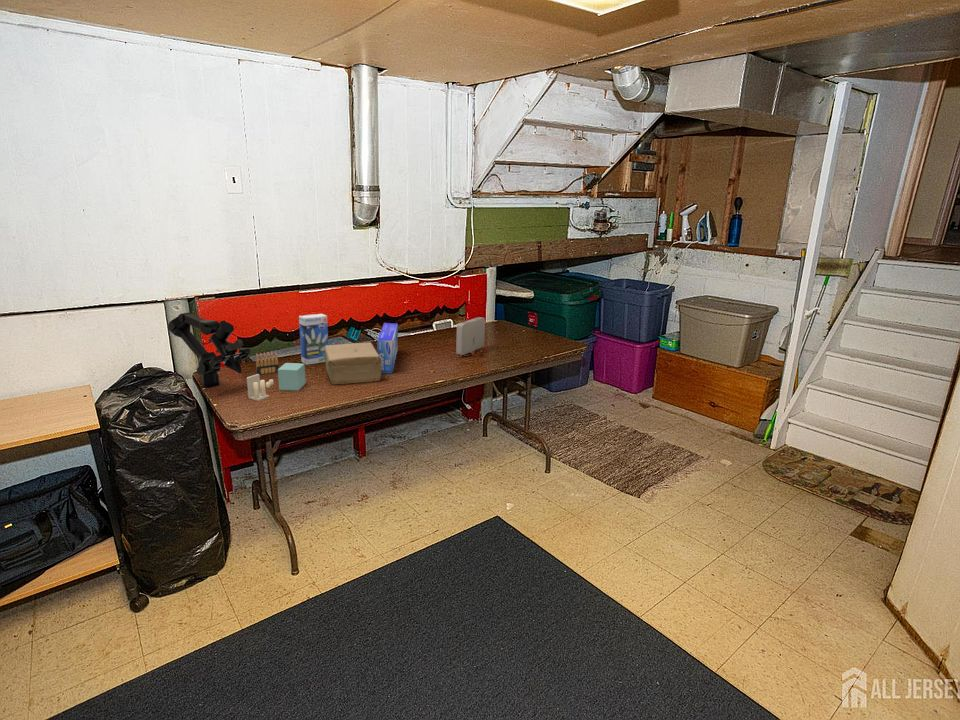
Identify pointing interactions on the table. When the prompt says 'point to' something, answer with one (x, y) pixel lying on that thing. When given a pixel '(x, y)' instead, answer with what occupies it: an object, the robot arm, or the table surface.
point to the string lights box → (313, 338)
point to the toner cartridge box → (388, 346)
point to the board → (269, 383)
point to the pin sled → (256, 388)
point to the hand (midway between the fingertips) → (240, 372)
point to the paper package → (352, 363)
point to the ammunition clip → (267, 364)
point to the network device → (470, 335)
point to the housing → (291, 376)
